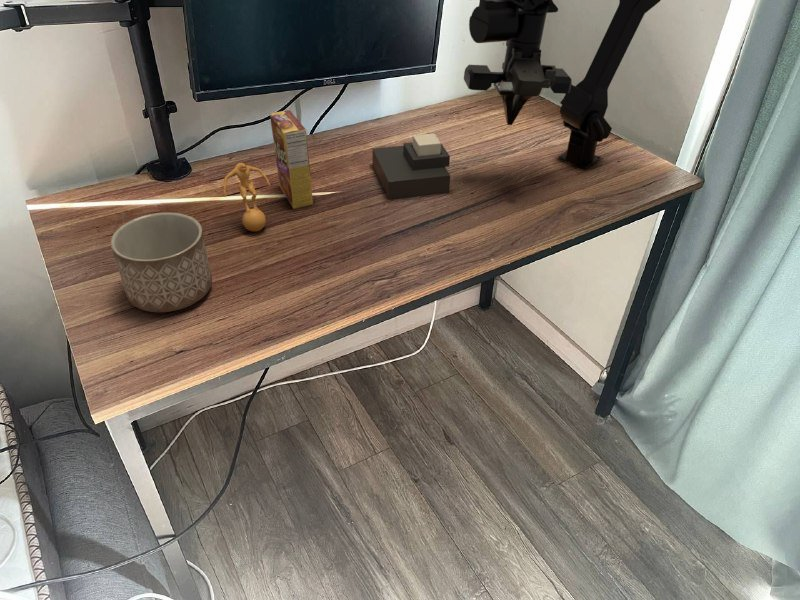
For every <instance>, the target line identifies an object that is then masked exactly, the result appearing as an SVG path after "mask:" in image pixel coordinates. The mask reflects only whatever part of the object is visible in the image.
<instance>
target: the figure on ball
mask: <svg viewBox="0 0 800 600" xmlns="http://www.w3.org/2000/svg"><path fill="white" fill-rule="evenodd" d="M251 172H258V173H259V174H260V175H261V177H262V178H263V179H264V180H266V183H267V184H268V186H269V187H270V186H271V183H270V179H268V177H267V176H266V175H265V174H264V173H263V171H262V170H261V168H258V167H255V166H252V165H246V163H243V162H238V163H236V165H235V166H234V168H233V169H232V170H231V171H230V172H229V173H228V174H226V175H225V176H224V179H223V191H222V195H223V197H225V198H227V195H228V193H227V191H226V190H227V187H228V179H230V178H232V177H233V176H235V175H236V177H237V178H238V180H239V181H240V183H239V184H238V185H237V188H238V191H239V194H240V196H241V198H242V202H243V204H244V207H245V212H244V213H243V215H242V219H241V220H242V225H243V227H244V228H245V229H246V230H248V231H250V232H259V231H261V230H262V229H263V228H264V227H265V226H266V222H267V219H266V216H265V213H264V212H263V211H262V210H260V209H259V208H258V206H257V204H256V201H255V200H256V198H257V195H258V194H257V191H256V188H255V186H254V185H255V184H254V182H253V181H252V180H251V181H249V180H250V175H251ZM247 190H248V191H247ZM248 192H249V193H250V194H252V195H251V197H250V199H251V203H252V207H253V208H250V207H249V205H248V202H247V201H248V199H247V194H248Z"/></svg>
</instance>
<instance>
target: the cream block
mask: <svg viewBox="0 0 800 600" xmlns="http://www.w3.org/2000/svg"><path fill="white" fill-rule="evenodd" d="M412 142H413V149H414V151H415V152H416V154H417V156H428V155H438V154H440V153H441V144H442V142H441V141H440V140H439V138H438V136H437V135H436V133H425V134H414V135H412Z"/></svg>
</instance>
